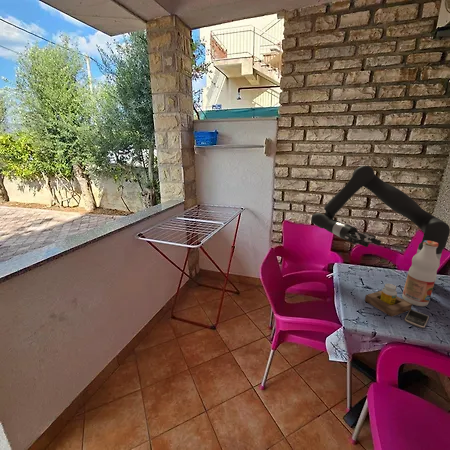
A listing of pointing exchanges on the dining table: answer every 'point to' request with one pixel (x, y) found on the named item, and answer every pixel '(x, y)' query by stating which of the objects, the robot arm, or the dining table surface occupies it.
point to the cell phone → (416, 318)
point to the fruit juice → (422, 275)
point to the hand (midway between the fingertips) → (374, 244)
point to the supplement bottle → (389, 294)
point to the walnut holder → (390, 310)
